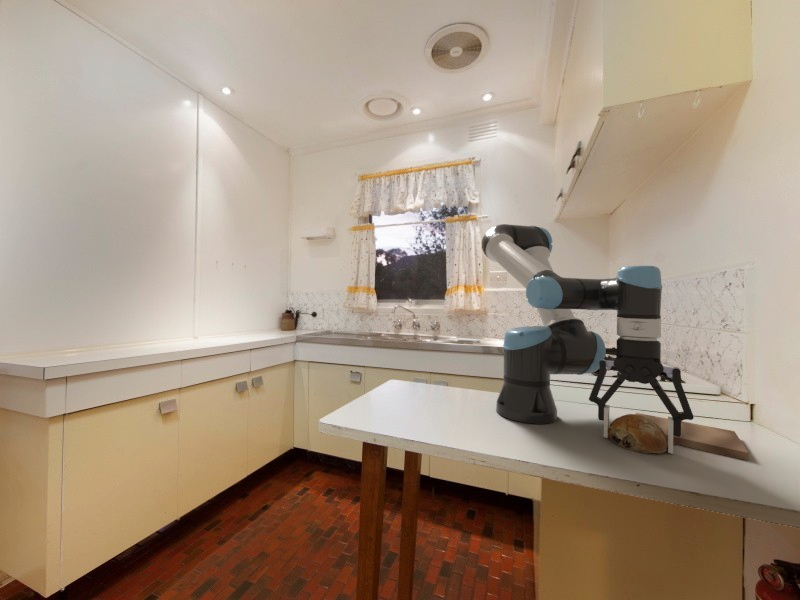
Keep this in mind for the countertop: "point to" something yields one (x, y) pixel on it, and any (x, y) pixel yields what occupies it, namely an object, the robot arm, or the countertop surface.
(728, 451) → the cutting board
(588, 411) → the countertop surface
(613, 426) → the bread roll
